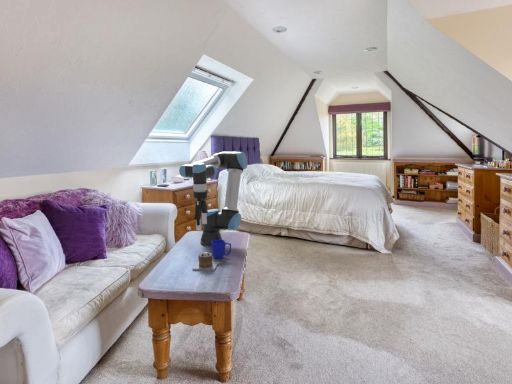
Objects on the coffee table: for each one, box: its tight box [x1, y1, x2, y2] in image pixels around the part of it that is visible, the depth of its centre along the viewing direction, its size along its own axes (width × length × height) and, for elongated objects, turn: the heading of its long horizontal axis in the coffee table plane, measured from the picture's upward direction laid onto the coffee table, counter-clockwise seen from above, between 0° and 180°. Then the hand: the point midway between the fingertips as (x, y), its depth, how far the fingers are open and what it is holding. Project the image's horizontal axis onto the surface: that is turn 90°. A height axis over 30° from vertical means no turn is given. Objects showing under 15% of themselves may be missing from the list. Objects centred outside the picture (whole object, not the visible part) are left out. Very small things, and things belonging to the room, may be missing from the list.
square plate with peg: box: [192, 251, 220, 272], centre depth 182 cm, size 12×12×8 cm
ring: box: [198, 252, 213, 268], centre depth 182 cm, size 7×7×6 cm
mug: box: [211, 239, 232, 260], centre depth 197 cm, size 8×12×10 cm
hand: (201, 227), depth 188 cm, fingers open, 13 cm apart
